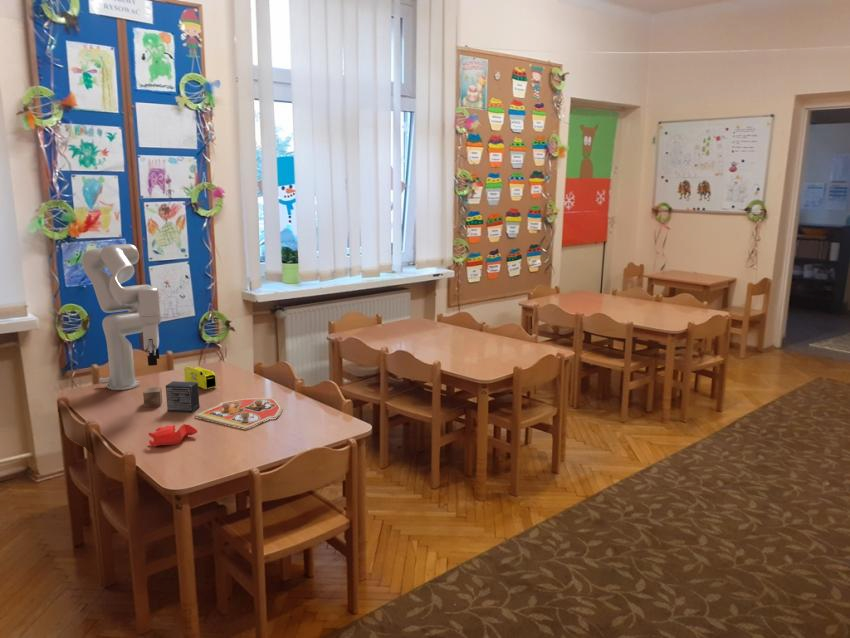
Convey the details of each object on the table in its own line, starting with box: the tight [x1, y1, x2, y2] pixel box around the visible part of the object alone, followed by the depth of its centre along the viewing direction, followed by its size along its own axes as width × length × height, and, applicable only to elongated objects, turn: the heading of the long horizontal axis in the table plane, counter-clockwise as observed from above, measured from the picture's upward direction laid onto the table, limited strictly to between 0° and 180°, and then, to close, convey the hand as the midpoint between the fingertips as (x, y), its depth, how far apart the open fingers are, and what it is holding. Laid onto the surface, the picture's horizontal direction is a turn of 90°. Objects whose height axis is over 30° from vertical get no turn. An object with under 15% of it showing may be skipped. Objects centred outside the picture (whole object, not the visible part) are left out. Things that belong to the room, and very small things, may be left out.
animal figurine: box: [148, 423, 199, 448], centre depth 226 cm, size 12×15×5 cm
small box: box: [165, 381, 200, 413], centre depth 255 cm, size 11×6×10 cm, turn 84°
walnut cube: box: [142, 386, 163, 408], centre depth 261 cm, size 6×6×6 cm
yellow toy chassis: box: [183, 365, 217, 390], centre depth 284 cm, size 16×6×8 cm, turn 51°
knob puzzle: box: [194, 397, 284, 429], centre depth 254 cm, size 29×30×4 cm
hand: (154, 362), depth 259 cm, fingers open, 9 cm apart
